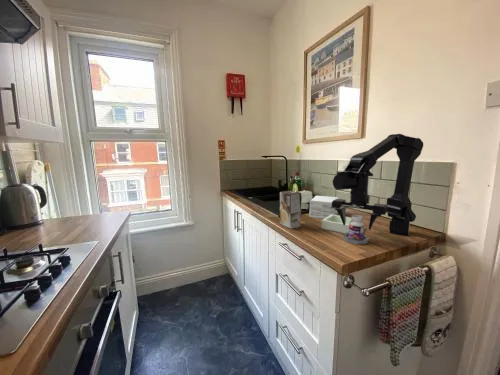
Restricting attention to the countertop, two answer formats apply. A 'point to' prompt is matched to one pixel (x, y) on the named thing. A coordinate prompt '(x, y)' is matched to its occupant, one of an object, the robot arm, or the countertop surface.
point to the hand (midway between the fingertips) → (356, 227)
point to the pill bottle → (356, 227)
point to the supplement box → (322, 207)
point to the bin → (335, 224)
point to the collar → (355, 241)
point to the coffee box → (290, 209)
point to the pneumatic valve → (305, 198)
